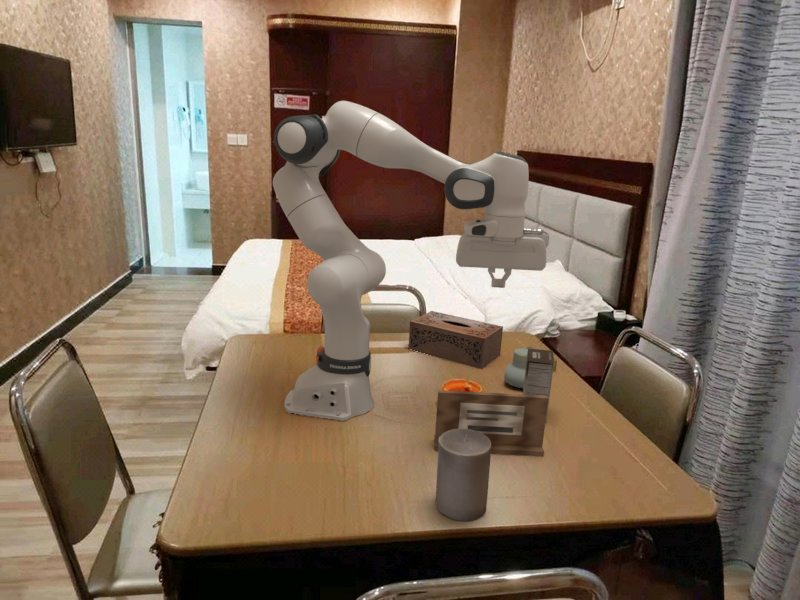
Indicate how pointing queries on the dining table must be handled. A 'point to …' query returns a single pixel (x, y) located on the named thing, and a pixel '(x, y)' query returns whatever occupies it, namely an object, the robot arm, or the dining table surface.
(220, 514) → the dining table surface
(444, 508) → the pillar candle
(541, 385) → the coffee box
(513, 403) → the label placard
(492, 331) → the tissue box cover
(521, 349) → the air freshener
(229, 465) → the dining table surface
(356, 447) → the dining table surface
